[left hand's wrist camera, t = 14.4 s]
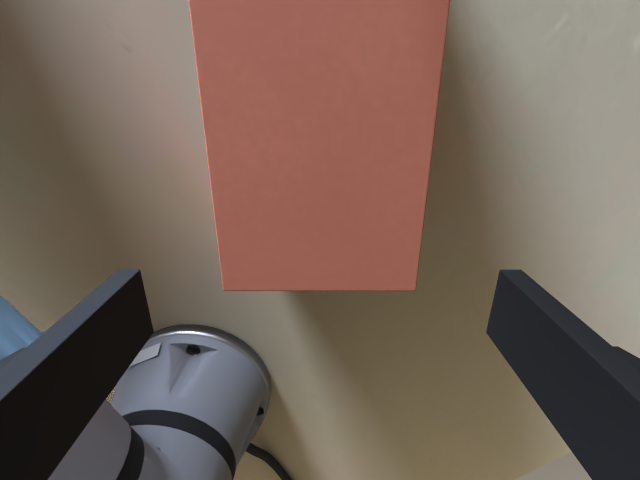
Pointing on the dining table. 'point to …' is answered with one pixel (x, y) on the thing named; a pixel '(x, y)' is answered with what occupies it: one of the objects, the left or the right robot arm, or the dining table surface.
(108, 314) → the left robot arm
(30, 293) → the dining table surface
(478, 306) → the dining table surface
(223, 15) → the cabinet
